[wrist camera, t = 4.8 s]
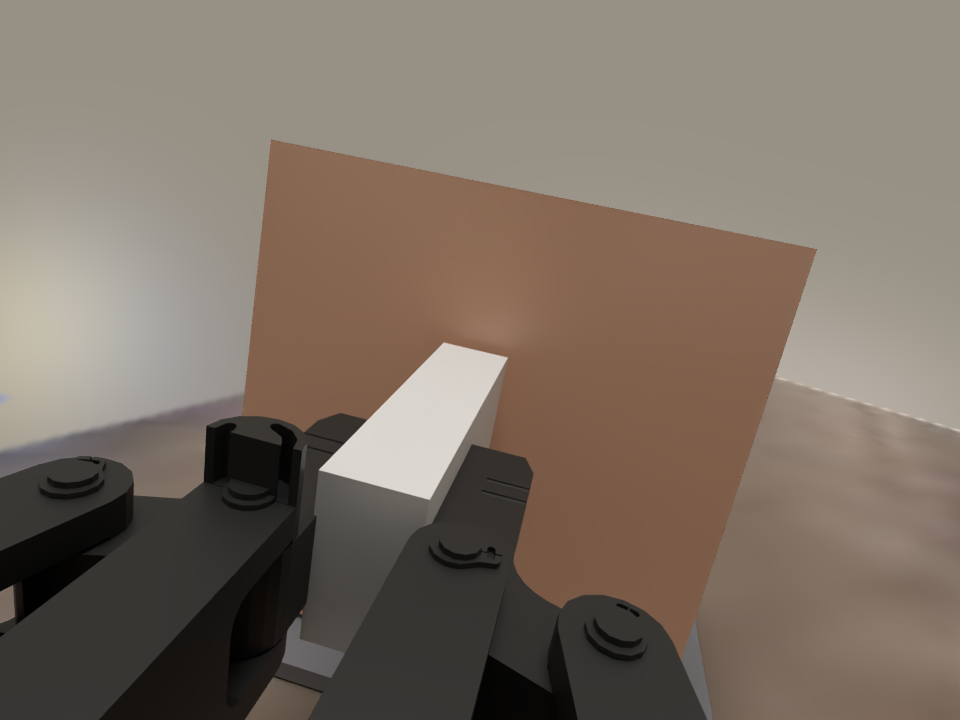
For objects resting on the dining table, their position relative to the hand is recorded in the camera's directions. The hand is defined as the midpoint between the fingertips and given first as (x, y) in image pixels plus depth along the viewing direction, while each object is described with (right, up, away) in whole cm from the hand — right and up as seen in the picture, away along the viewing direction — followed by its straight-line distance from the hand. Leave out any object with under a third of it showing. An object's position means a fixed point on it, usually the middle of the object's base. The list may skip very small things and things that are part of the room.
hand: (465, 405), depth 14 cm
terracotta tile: (-1, -6, +4) cm, 7 cm away
